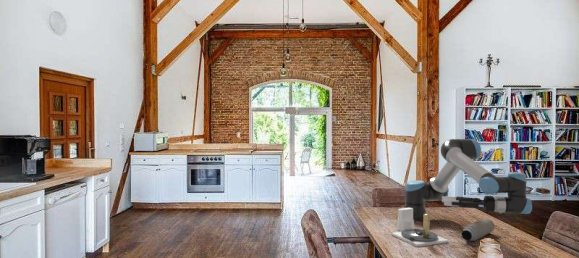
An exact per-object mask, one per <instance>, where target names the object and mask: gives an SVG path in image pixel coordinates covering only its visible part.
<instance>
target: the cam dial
mask: <svg viewBox="0 0 579 258" xmlns="http://www.w3.org/2000/svg"><path fill="white" fill-rule="evenodd" d="M422 221H423V222H422V223H423V225H422V228H423V229H419V228H414V229H406V230H403V231H400V232H401V235H402V236H403V237H405V238H407V239H410V237H411V236H412V237H413V240H415V241H435V240H437V239H438V236H439V235H438V234H437V233H435V232H434V231H430V230H431V229H430V224H431V223H430V222H431V214H430V213H426V214H424V215H423V220H422Z"/></svg>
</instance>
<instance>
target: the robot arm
mask: <svg viewBox="0 0 579 258" xmlns="http://www.w3.org/2000/svg"><path fill="white" fill-rule="evenodd" d="M440 154H441V157H442V158H443V159H444V160H445V161H446V163H445V164H444V165H443V167H442V168H441V169H440V170H439V172H438V174H437V175H436V176H435V177H432V178H430V180H429V181H427V182H425V181H424V180H417V179H416V180H411V181H410V180H409V181H407V182H406V183H405V189H404V190H405V192H404V193H405V205H404V207H403V208H413V219H414V221H423V215H424V214H427V211H426V208H425V202H433V201H437V202H438V201H441V202H442V203H443V206H447V207H448V206H449V207H460V208H463V209H465V208H466V209H467V208H469V209H481V210H482V209H483V210H484V211H485V212H491V213H492V212H496V213H499V214H502V213H506V214H518V215H519V214H520V215H523V214H524V215H528V214H531V212H532V211H533V203H532V202H533V201H532V200H531V198H529V197H527V174H525V173H524V172H517V171H510V172H507V176H496V175H494V174H493V173H491V171H489V170H487V169H486V168H485V167H483V166H482V165H480V163H478V162H476V160H478V159H480V158H481V155H482V147H481V145H480V142H479V141H478V140H476V139H474V138H473V139H472V138H450V139H447V140H445V141H444V142H443V143H442V144H441V146H440ZM474 160H475V161H474ZM460 171H462V172H463V173H465V174H466V175H467V176H469V177H470V178H471V179H472V180H474V181H475V182H476V183H478V188H479V189H480V191H481V192H482V193H484V194H490V195H485V196H484V197H483V199H481V198H479V197H467V196H448V195H449V184H450V183H451V182H452V181H453V180H454V179H455V177H456V176H457V175H458V173H459V172H460ZM491 194H492V195H491ZM493 194H507V196H501V195H500V196H499V195H498V196H497V195H495V196H493Z"/></svg>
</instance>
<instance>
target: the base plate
mask: <svg viewBox="0 0 579 258" xmlns="http://www.w3.org/2000/svg"><path fill="white" fill-rule="evenodd" d="M401 232H402V231H396V232H391V236H392V237H395V238H397V239H400V240H401V241H404V242H406V243H408V244H410V245H412V246H413V247H414V246H415V247H425V246H431V245H439V244H447V243H449V239H446V238H444V237H442V236H439V235H438V239H437V240H435V241H415V240H413V237H412V236H411V237H410V239H407V238H405V237H403V236H402V235H401Z"/></svg>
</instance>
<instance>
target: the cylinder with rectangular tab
mask: <svg viewBox="0 0 579 258" xmlns="http://www.w3.org/2000/svg"><path fill="white" fill-rule="evenodd" d="M397 214H398V216H397V221H396V223H397V224H396V225H397V226H396V227H397V228H396V230H397V231H398V232H402V231H403V230H406V229H415V220H414V219H413V208H404V207H403V208H398V211H397Z"/></svg>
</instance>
